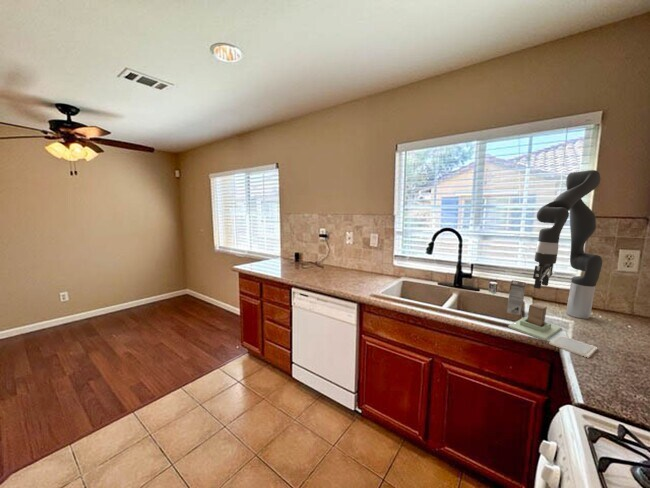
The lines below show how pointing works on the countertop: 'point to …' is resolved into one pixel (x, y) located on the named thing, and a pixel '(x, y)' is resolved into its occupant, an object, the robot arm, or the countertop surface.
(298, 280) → the countertop surface
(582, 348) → the plate
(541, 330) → the pocket board
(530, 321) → the walnut block
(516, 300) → the grey coffee bag
